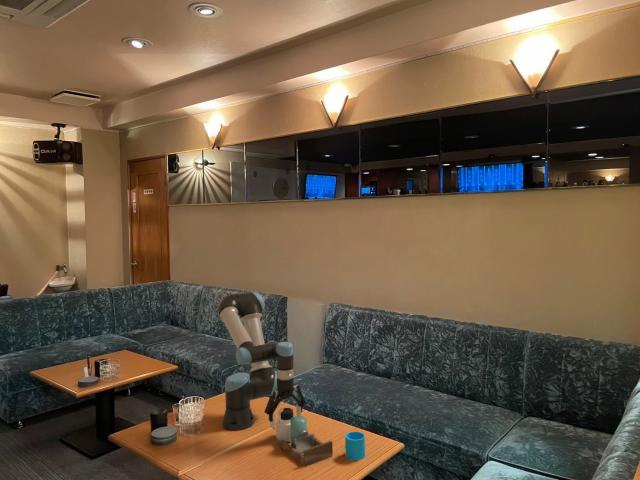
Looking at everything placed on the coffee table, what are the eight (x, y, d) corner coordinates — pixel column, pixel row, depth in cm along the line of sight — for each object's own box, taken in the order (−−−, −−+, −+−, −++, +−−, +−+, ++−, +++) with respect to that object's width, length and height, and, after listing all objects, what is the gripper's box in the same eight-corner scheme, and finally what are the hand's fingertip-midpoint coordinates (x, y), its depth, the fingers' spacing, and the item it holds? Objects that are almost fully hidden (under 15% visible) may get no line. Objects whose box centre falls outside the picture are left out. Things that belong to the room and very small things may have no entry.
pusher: (294, 453, 192) (294, 434, 191) (313, 446, 197) (312, 428, 196) (296, 454, 191) (295, 435, 190) (314, 447, 196) (314, 429, 196)
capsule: (288, 446, 198) (287, 418, 198) (301, 441, 202) (301, 414, 202) (296, 452, 192) (295, 424, 192) (310, 447, 196) (309, 419, 196)
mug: (364, 461, 184) (363, 441, 184) (344, 459, 186) (343, 439, 185) (367, 447, 196) (367, 428, 195) (348, 445, 197) (348, 426, 197)
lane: (276, 444, 200) (276, 430, 200) (302, 435, 208) (302, 422, 207) (305, 466, 181) (304, 451, 181) (332, 456, 189) (332, 441, 188)
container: (297, 434, 209) (296, 406, 209) (292, 442, 201) (292, 413, 201) (280, 433, 210) (280, 405, 210) (275, 441, 203) (275, 412, 203)
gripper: (264, 386, 195) (265, 434, 196) (313, 374, 209) (313, 419, 210) (256, 381, 201) (257, 428, 202) (304, 369, 215) (304, 414, 216)
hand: (286, 424), depth 206 cm, fingers open, 13 cm apart
